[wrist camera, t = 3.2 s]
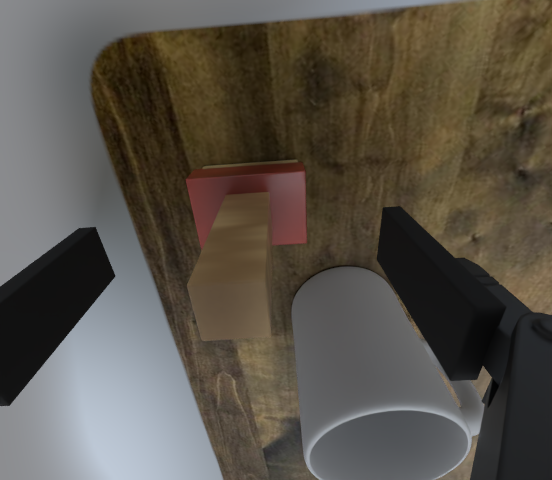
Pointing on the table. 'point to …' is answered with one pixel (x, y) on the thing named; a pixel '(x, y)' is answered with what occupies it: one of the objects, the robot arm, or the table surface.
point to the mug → (373, 385)
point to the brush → (242, 242)
